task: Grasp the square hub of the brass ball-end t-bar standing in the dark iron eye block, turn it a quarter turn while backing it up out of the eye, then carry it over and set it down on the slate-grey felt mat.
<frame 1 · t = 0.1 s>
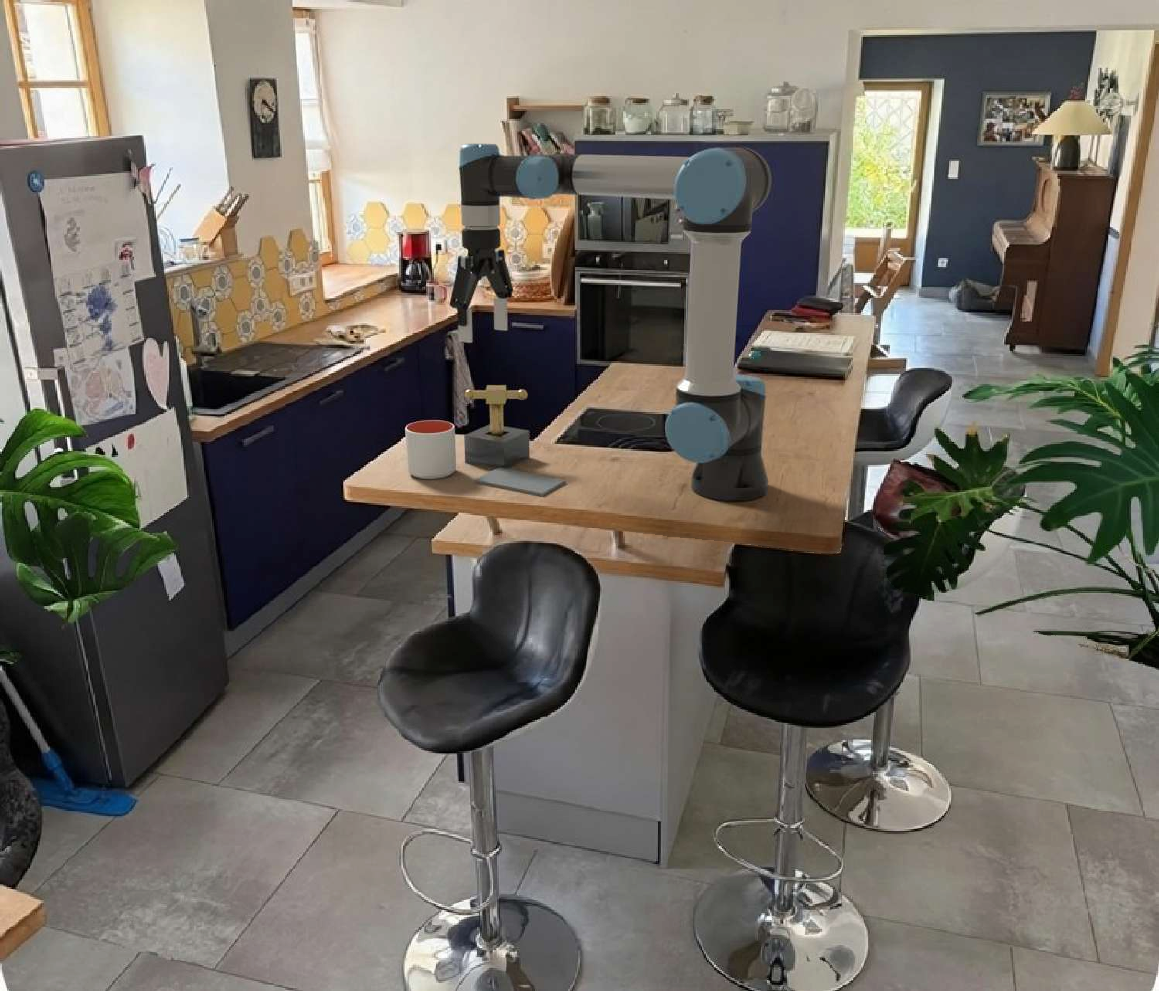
hand: (483, 335, 206), 28 cm above the countertop, fingers open, 13 cm apart
eye block: (497, 459, 220), on the countertop
cup: (432, 474, 212), on the countertop
mat: (519, 482, 206), on the countertop
brass ball-end t-bar: (497, 459, 220), resting in eye block
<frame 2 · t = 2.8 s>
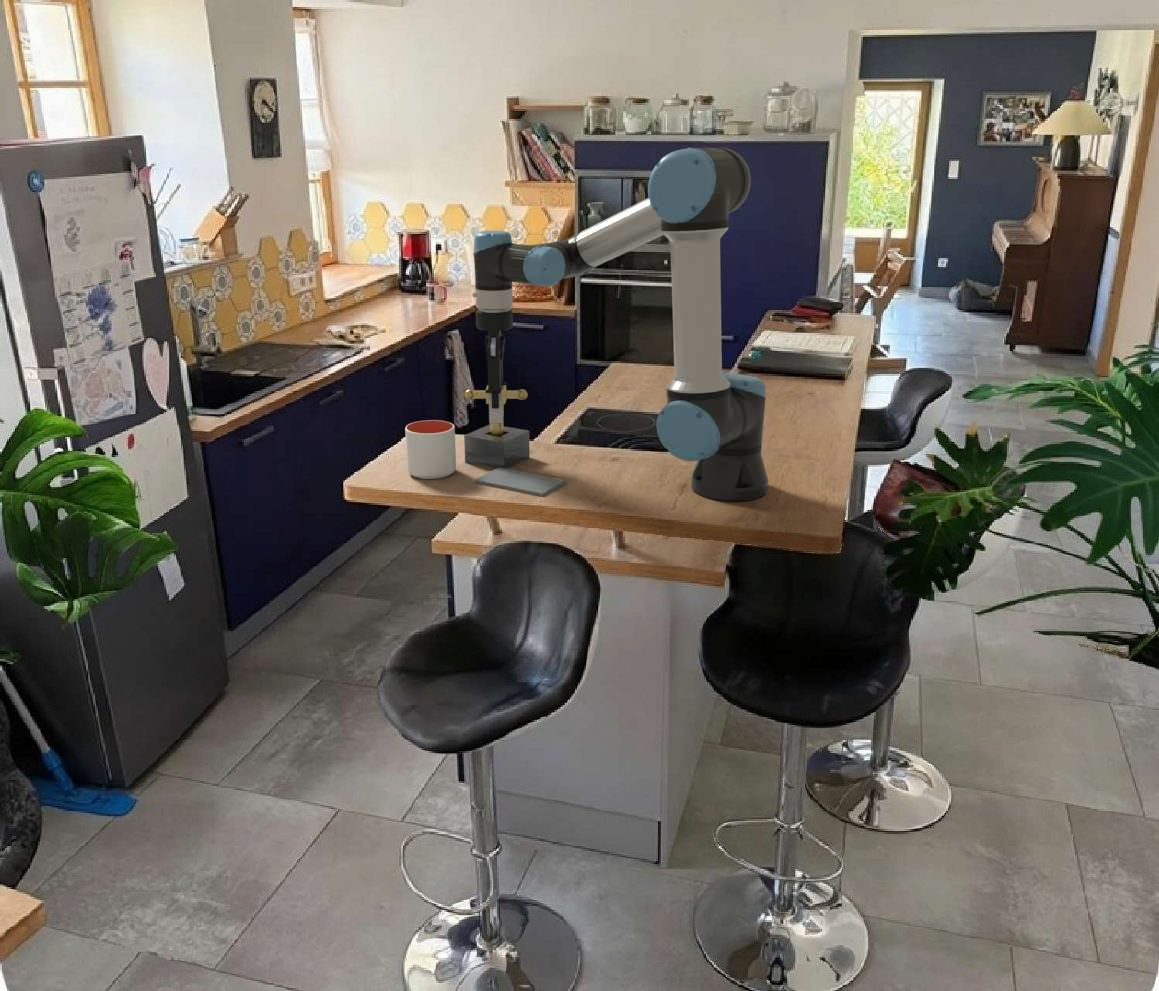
hand: (496, 418, 217), 9 cm above the countertop, fingers closed on brass ball-end t-bar, 4 cm apart
brass ball-end t-bar: (497, 459, 220), resting in eye block, touching gripper
everything else where it was.
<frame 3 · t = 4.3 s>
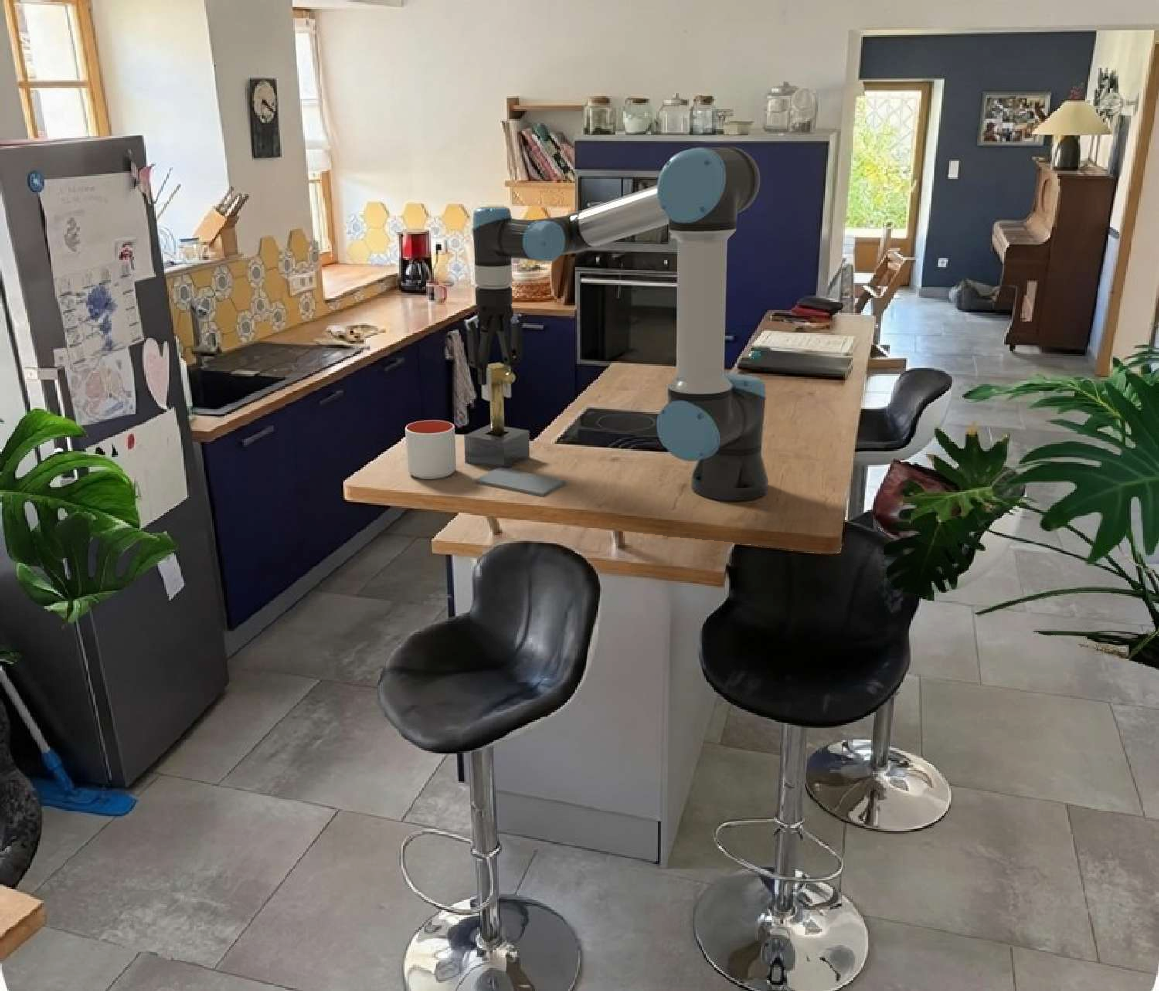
hand: (496, 397, 215), 14 cm above the countertop, fingers closed on brass ball-end t-bar, 4 cm apart
brass ball-end t-bar: (497, 439, 218), point 5 cm above the countertop, touching gripper
everything else where it was.
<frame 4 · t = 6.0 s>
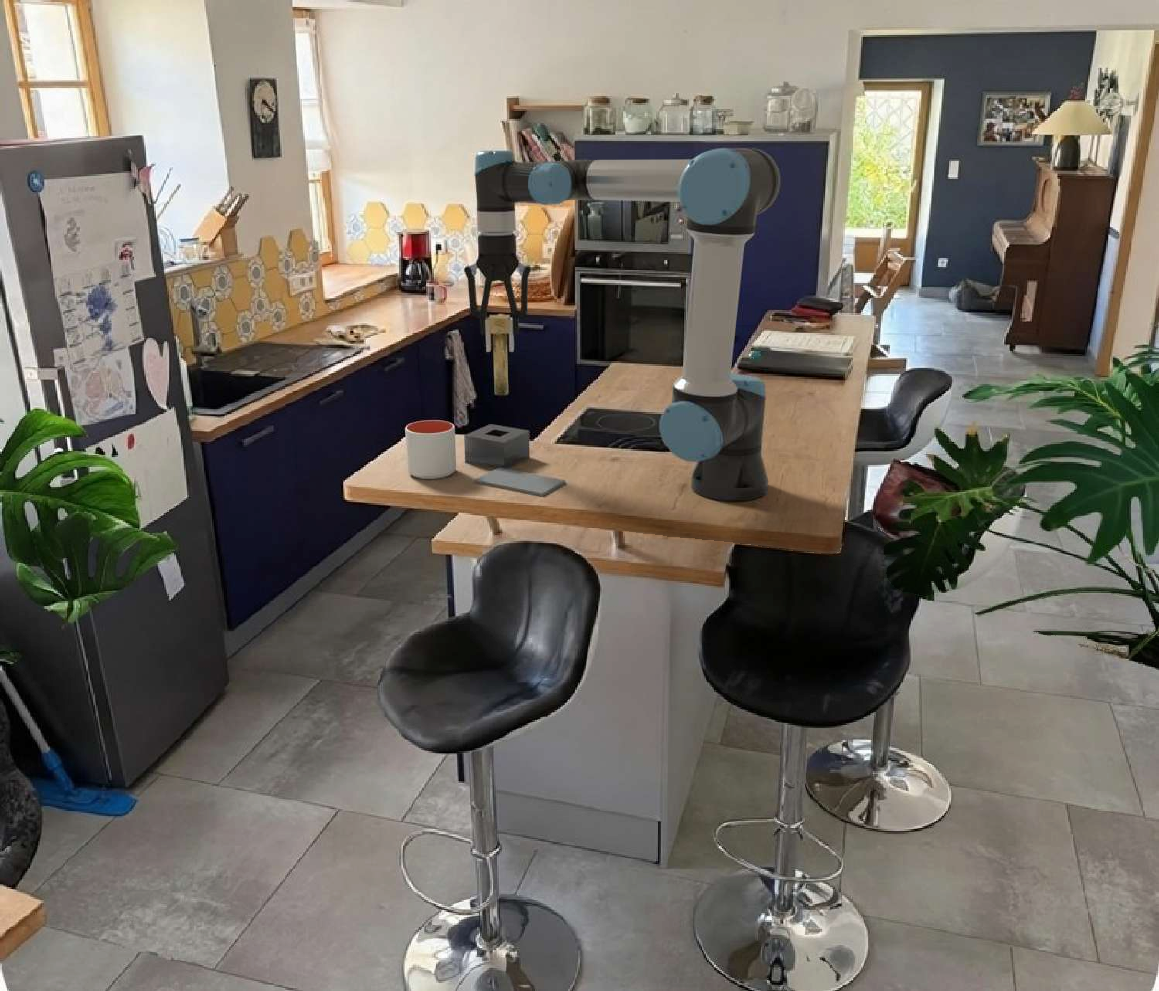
hand: (500, 350, 209), 25 cm above the countertop, fingers closed on brass ball-end t-bar, 4 cm apart
brass ball-end t-bar: (501, 393, 212), point 15 cm above the countertop, touching gripper
everything else where it was.
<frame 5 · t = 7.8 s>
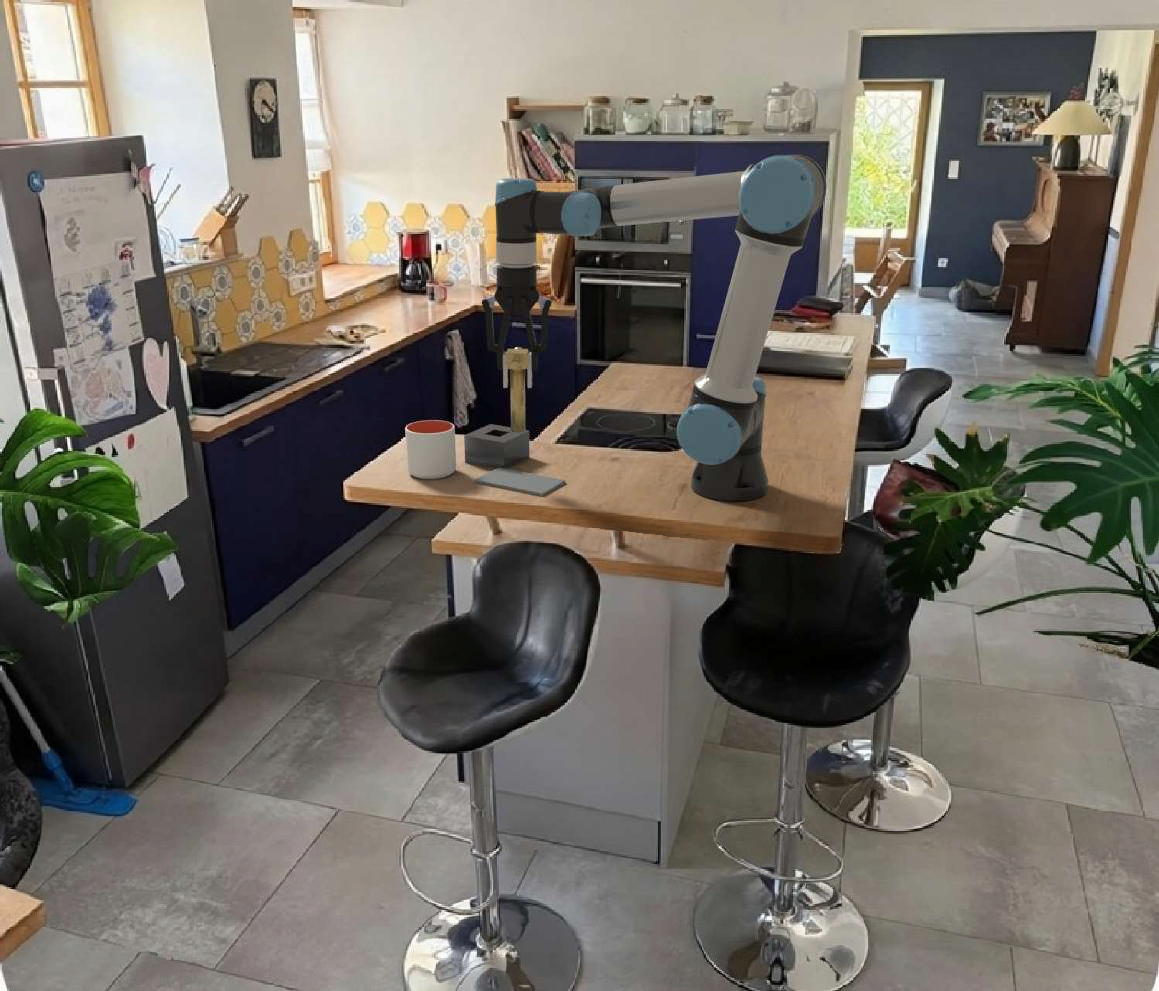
hand: (517, 385, 199), 20 cm above the countertop, fingers closed on brass ball-end t-bar, 4 cm apart
brass ball-end t-bar: (518, 430, 203), point 11 cm above the countertop, touching gripper
everything else where it was.
when the fingers open (11 cm above the countertop, at t = 9.4 s): brass ball-end t-bar stays where it is, resting on mat.
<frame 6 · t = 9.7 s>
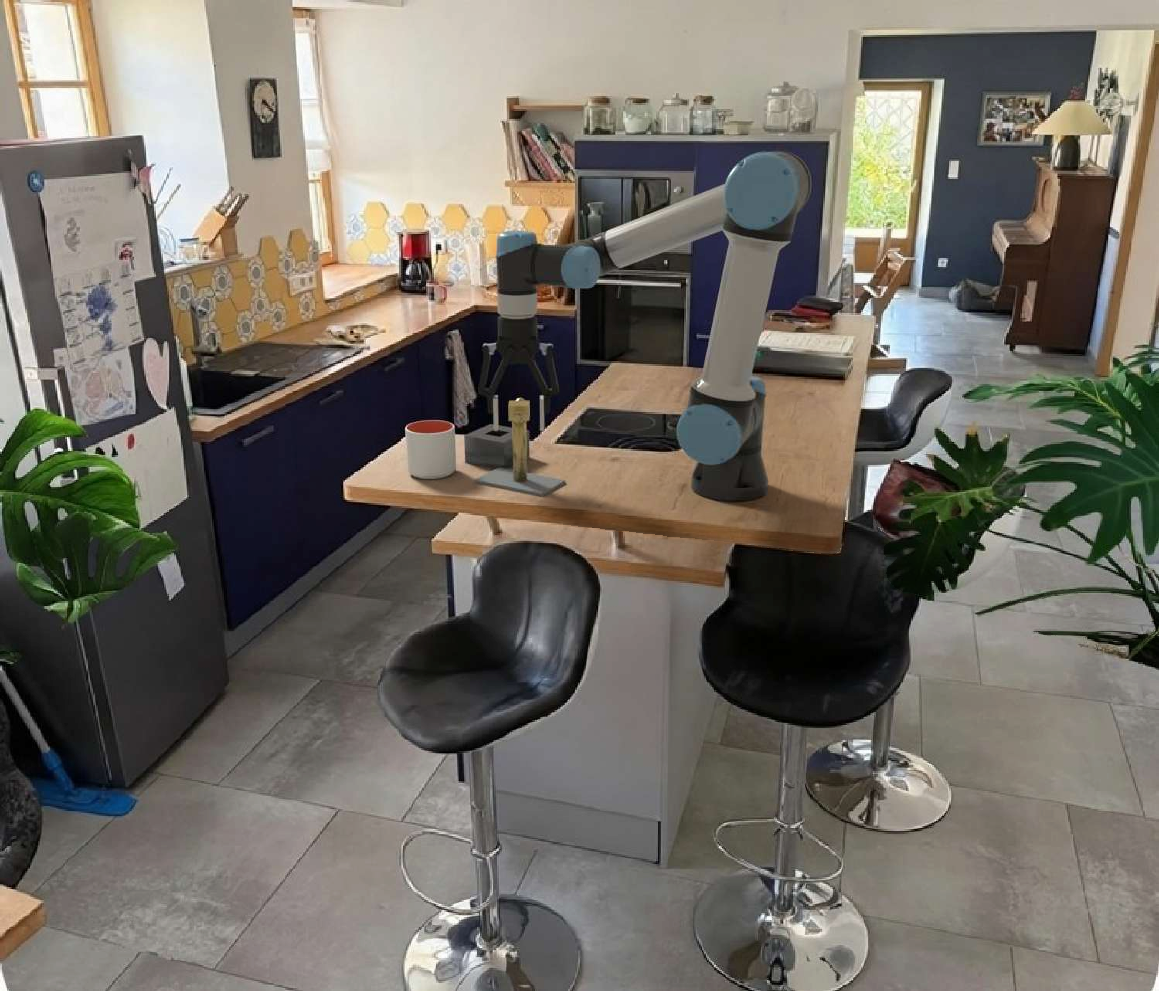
hand: (519, 428, 202), 11 cm above the countertop, fingers open, 8 cm apart
brass ball-end t-bar: (520, 479, 206), point 1 cm above the countertop, touching mat
everything else where it was.
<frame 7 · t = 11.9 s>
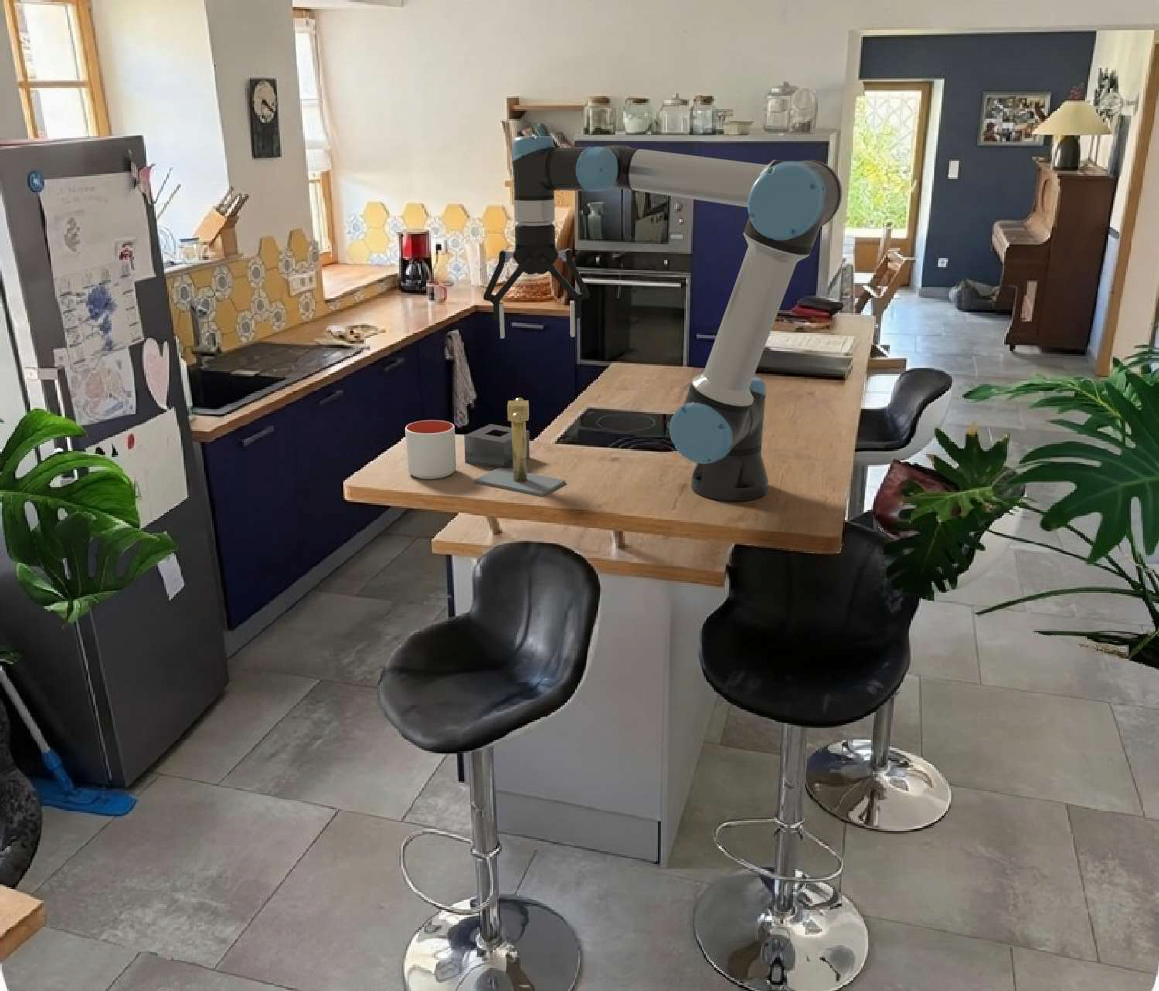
hand: (537, 336, 198), 30 cm above the countertop, fingers open, 13 cm apart
nothing on the countertop moved.
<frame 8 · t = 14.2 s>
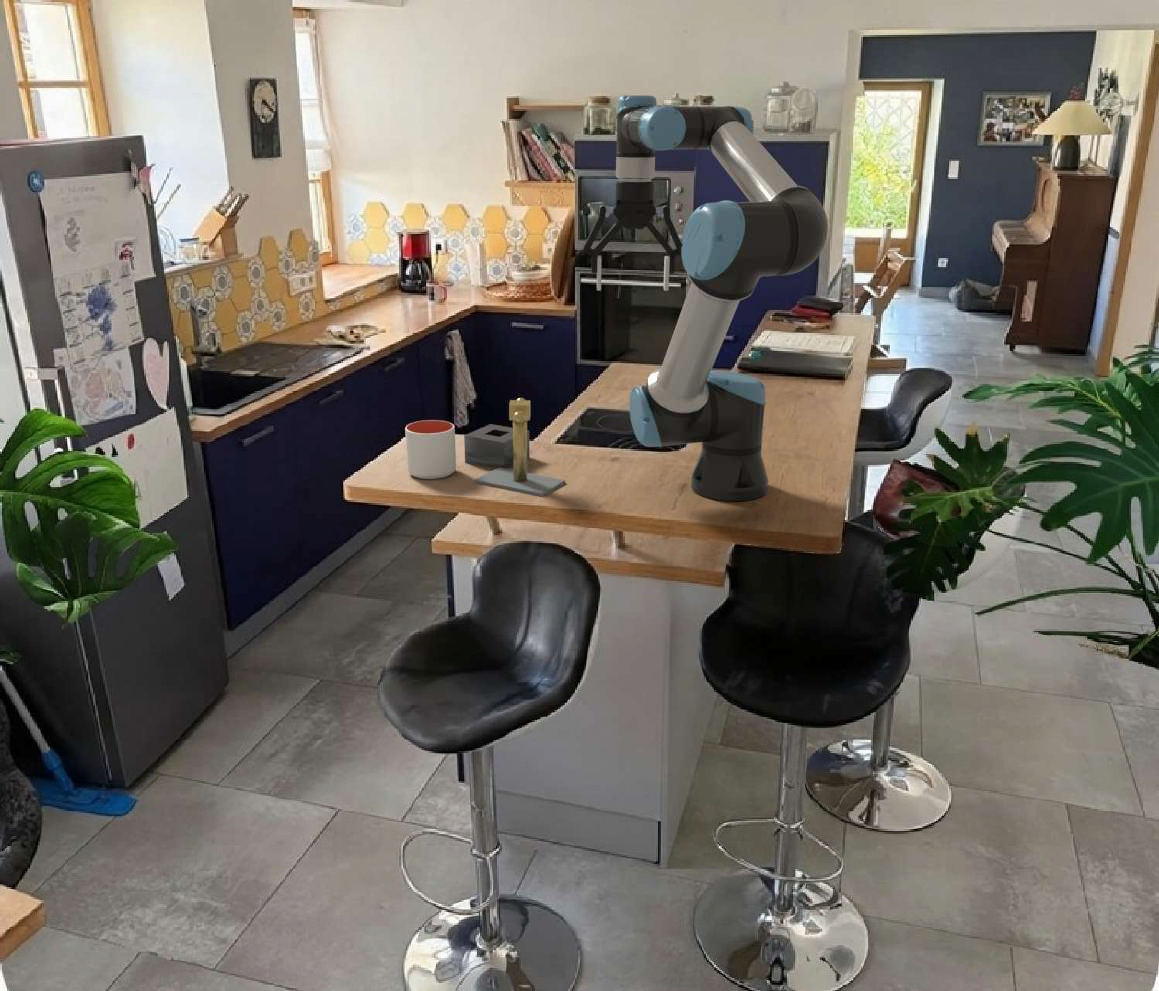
hand: (632, 289, 206), 37 cm above the countertop, fingers open, 13 cm apart
nothing on the countertop moved.
at the end: brass ball-end t-bar inside the target area on the mat (0.1 cm from its centre), point 0.6 cm above the mat's base; brass ball-end t-bar moved 15.7 cm from its start; the gripper is holding nothing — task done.
